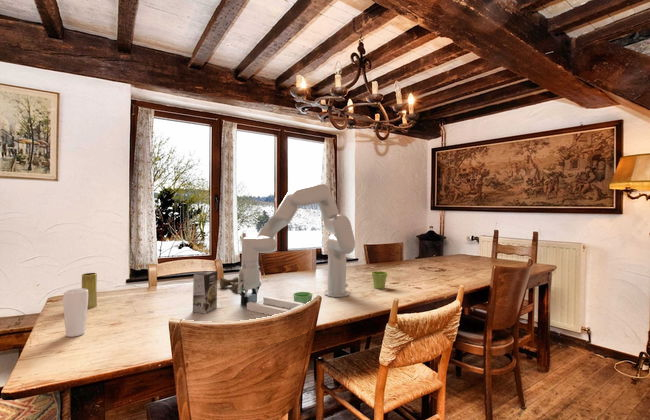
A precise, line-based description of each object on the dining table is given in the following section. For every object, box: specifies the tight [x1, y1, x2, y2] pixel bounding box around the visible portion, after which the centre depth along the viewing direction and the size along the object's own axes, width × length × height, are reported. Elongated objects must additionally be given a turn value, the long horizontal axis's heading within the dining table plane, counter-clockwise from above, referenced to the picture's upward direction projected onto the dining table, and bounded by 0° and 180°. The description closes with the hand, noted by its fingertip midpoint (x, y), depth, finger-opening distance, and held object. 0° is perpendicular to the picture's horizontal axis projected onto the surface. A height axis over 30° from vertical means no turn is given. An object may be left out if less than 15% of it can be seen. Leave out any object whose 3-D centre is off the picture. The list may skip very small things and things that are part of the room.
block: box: [240, 292, 258, 307], centre depth 150 cm, size 5×5×4 cm
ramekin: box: [292, 291, 313, 304], centre depth 153 cm, size 9×9×4 cm
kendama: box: [219, 276, 242, 294], centre depth 178 cm, size 6×10×20 cm
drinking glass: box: [62, 287, 88, 338], centre depth 112 cm, size 7×7×15 cm
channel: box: [246, 295, 305, 316], centre depth 142 cm, size 13×22×3 cm, turn 61°
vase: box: [81, 272, 98, 309], centre depth 142 cm, size 6×6×14 cm
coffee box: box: [192, 270, 218, 314], centre depth 141 cm, size 9×6×16 cm
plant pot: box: [370, 270, 389, 290], centre depth 186 cm, size 9×9×9 cm
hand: (249, 302), depth 150 cm, fingers open, 5 cm apart
